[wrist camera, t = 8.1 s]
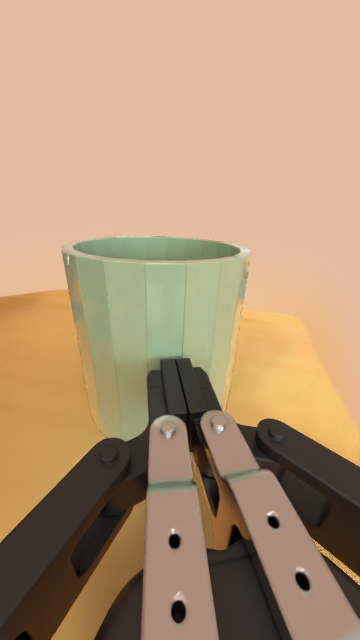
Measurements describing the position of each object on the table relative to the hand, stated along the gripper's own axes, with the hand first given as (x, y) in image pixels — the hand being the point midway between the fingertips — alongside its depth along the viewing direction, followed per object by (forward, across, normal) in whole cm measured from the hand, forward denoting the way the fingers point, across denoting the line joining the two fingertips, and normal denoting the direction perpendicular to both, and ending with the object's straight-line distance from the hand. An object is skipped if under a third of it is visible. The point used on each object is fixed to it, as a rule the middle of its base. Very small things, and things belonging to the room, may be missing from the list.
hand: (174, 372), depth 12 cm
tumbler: (+6, 0, -6) cm, 9 cm away
